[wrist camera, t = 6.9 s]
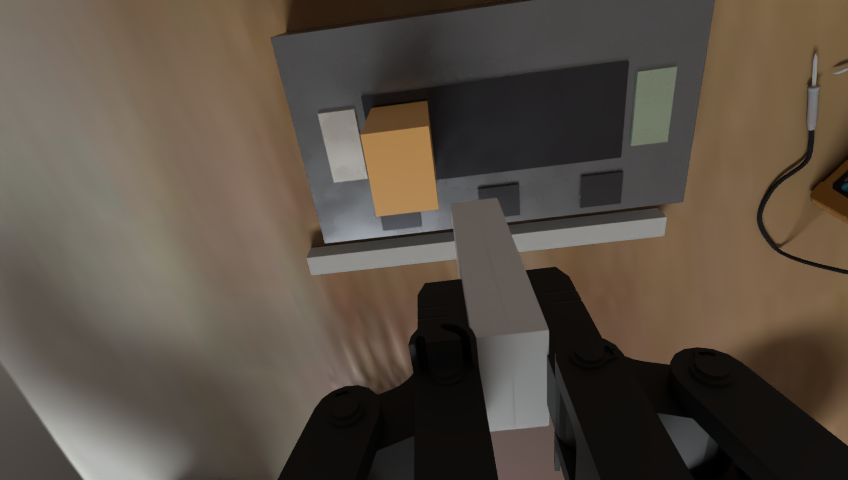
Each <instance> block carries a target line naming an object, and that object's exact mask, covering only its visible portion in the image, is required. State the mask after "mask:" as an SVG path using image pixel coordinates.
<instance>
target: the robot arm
mask: <svg viewBox="0 0 848 480" xmlns="http://www.w3.org/2000/svg"><path fill="white" fill-rule="evenodd" d="M450 204H451V213H452V222H453V231H454V240H455V249H456V258H457V267H458V276H459V279H458V280H449V281H440V282H432V283H425V284H424V286H423V287H422V289H421V291H420V292H419V294H418V329H417V330H416V331H415V332H414V334H413V335H412V336H411V338H410V342H409V350H410V356H411V361H412V366H413V372H414V373H413V374H412V375H411V377H410V378H409V379H408V380H407V381H405V382H404V383H403V384H401V385H400V386H398V387H396V388H394V389H392V390H389V391H387V392H384V393H381V394H379V395H377V394H375V393H374V392H373V391H372V390H370V389H369V388H366V387H362V386H358V385H357V386H345V387H342V388H340V389H337V390H334V391H332V392H331V393H330V394H328V395H327V396H325V397H324V398H323V399H322V400H321V401H320V402H319V404H318V405H317V406H316V408H315V409H314V411H313V413H312V415H311V417H310V419H309V420H308V422H307V424H306V426H305V428H304V430H303V432H302V434H301V436H300V438H299V440H298V441H297V443H296V445H295V447H294V449H293V451H292V453H291V455H290V457H289V459H288V460H287V462H286V464H285V466H284V468H283V470H282V472H281V474H280V476H279V478H278V480H498V476H497V470H496V464H495V458H494V452H493V446H492V440H491V435H490V432H491V431H501V430H511V429H520V428H531V427H541V426H549V413H550V416H551V419H552V422H553V425H554V428H555V432H554V434H555V435H554V438H555V439H554V465H555V471H560V466H561V469H562V472H563V475H564V479H565V480H848V446H847V445H846V444H845V443H843V442H842V441H841V440H840V439H838V438H837V437H836V436H835V435H833V434H832V433H831V432H829V431H828V430H827V429H826V428H824V427H823V426H822V425H821V424H819V423H818V422H817V421H815V420H814V419H813V418H812V417H810V416H809V415H808V414H807V413H805V412H804V411H803V410H801V409H800V408H799V407H798V406H796V405H795V404H794V403H793V402H791V401H790V400H789V399H787V398H786V397H785V396H784V395H782V394H781V393H780V392H779V391H777V390H776V389H775V388H773V387H772V386H771V385H770V384H768V383H767V382H766V381H765V380H763V379H762V378H761V377H759V376H758V375H757V374H756V373H754V372H753V371H752V370H750V369H749V368H748V367H747V366H745V365H744V364H743V363H742V362H740V361H738V360H737V359H735V358H733V357H732V356H730V355H728V354H726V353H723V352H720V351H717V350H714V349H707V348H699V347H696V348H689V349H684V350H682V351H680V352H678V353H676V354H675V355H674V357H673V358H672V360H671V362H670V365H667V364H660V363H652V362H644V361H639V360H634V359H631V358H628V357H626V356H624V354H623V353H622V352H621V351H620V350H619V349H618V347H617V346H616V345H614V344H613V343H611V342H609V341H607V340H606V339H603V338H602V337H601V335H600V333H599V331H598V330H597V328H596V326H595V324H594V322H593V320H592V318H591V317H590V315H589V313H588V311H587V309H586V307H585V305H584V304H583V302H582V301H581V298H580V296H579V294H578V292H577V291H576V289H575V287H574V285H573V283H572V281H571V279H570V277H569V276H568V275H566V274H565V273H563V272H562V271H561V270H559V269H558V268H556V267H550V268H541V269H533V270H525V268H524V265H523V263H522V260H521V258H520V255H519V252H518V250H517V247H516V245H515V242H514V240H513V237H512V235H511V232H510V230H509V227H508V224H507V222H506V219H505V217H504V214H503V212H502V209H501V207H500V204H499V201H498V199H497V198H490V199H482V200H474V201H466V202H458V203H450Z"/></svg>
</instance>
